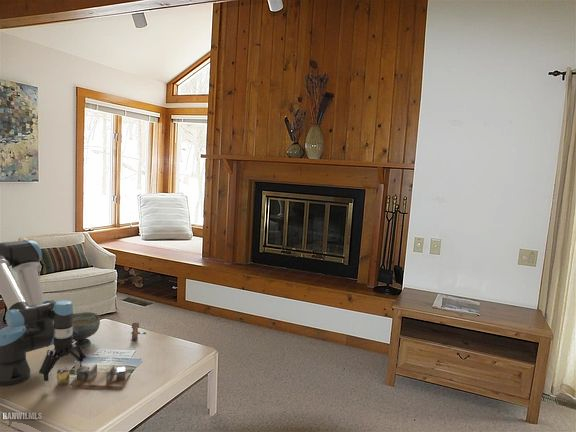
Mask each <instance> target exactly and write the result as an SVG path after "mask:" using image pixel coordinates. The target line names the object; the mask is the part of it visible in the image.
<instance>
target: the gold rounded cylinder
mask: <svg viewBox="0 0 576 432" xmlns="http://www.w3.org/2000/svg"><path fill="white" fill-rule="evenodd" d="M69 384H70V368H68V367H67V366H66V367H64V366H63V368H58V369H57V371H56V385H57V387H65V386H68V385H69Z"/></svg>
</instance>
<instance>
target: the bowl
mask: <svg viewBox="0 0 576 432" xmlns="http://www.w3.org/2000/svg"><path fill="white" fill-rule="evenodd" d="M100 325H101V317H100V316H99V314H97V313H94V312H88V311H87V312H86V311H84V312H77V313H73V334H72V336H73V341H76V342H78V343H79V347H80V348H81V349H82V348H87V347H88V346H90V345H91V343H92V341H91V340H90V339H89V338H90V337H91V336H93V335H95V334H96V333H97V331H98V330H99V328H100Z"/></svg>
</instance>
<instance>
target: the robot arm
mask: <svg viewBox="0 0 576 432" xmlns="http://www.w3.org/2000/svg"><path fill="white" fill-rule="evenodd" d="M42 257H43V253H42V248H41V247H40V245H39V244H38V242H36V241H35V240H33V239H31V240H30V239H28V240H27V239H24V240H16V241H15V240H14V241H5V242H0V296H1V298H2V300H3V302H4V304H5V306H6V308H7V311H6V312H5V323H6V325H7V326H5V327H3V328H1V329H0V385H6V386H12V385H16V384H19V383H22V382H24V381H26V380H27V379H29V378H30V377H31V375H32V374H31V371H32V370H31V368H30V366H29V363H28V360H27V353H30V352H33V351H36V350H40V349H43V348H49V347H51V346H53V347H54V348H53V349H51V350H50V349H48V350H47V352H46V356H45V357H44V360H43V362H42V365H41V366H40V368H39V371H38V374H41V375H43V381H44V384H45V385H44V386H45V387H46V388H47V389H51V386H52V376H51V375H52V373H51V371H52V369H53V368H54V366H55V364H56V363H58V361H59V360H60V359H61V358H64V357H68V356H69V355H70V356H71V357H73V358H74V375H76V376H77V373H76V371H77V369H79V368H80V367H82V362H83V361H84V359H85V358H86V355H85V353H84V351H83V350H82V348H80V347H79V343H78V342H76V341H74V340H73V336H72V334H73V314H74V308H73V307H74V306H73V302H72V301H71V300H58V301H56V300H53V299H46V300H45V296H44V292H43V288H42V283H41V281H40V276H39V271H38V269H37V268H38V266H39V265H40V263H39V262H41V260H42ZM10 267H11V268H10ZM11 269H12V270H11ZM12 271H14V272H15V273H16V275H17V279H18V282H17V280H16V278H15V276H14V275H13V273H12ZM18 284H19V285H18ZM72 349H75V352H74V351H73V350H72Z"/></svg>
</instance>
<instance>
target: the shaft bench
mask: <svg viewBox="0 0 576 432" xmlns="http://www.w3.org/2000/svg"><path fill="white" fill-rule="evenodd" d="M92 365H93V366H91V368H90V367H89V366H81V367H80V368H79V369H77V371H76V373H77V375H76V378H75V379H74V380H73V382H72V383H71V386H70V387H71V388H80V389H81V388H82V389H101V390H103V389H104V390H122V388H124V386H125V384H126V383H127V382H128V380H129V379H130V377H131V373H130V372H129V373H126V374H125V380H120V381H117V375H112V370H115V364H111V365H110V366H109V368H108V369H107V370H106V371H105V372H104V371H98V364H96V363H94V364H92Z"/></svg>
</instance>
